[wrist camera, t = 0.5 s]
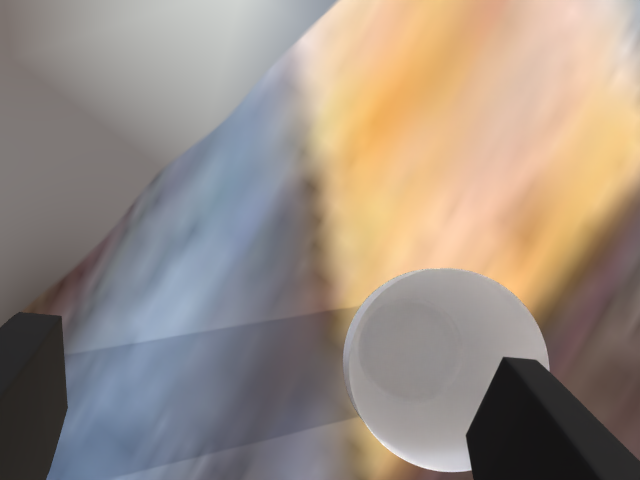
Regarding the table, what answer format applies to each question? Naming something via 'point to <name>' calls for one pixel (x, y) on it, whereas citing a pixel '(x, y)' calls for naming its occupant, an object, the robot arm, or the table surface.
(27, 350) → the robot arm
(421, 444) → the cup
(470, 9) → the table surface
